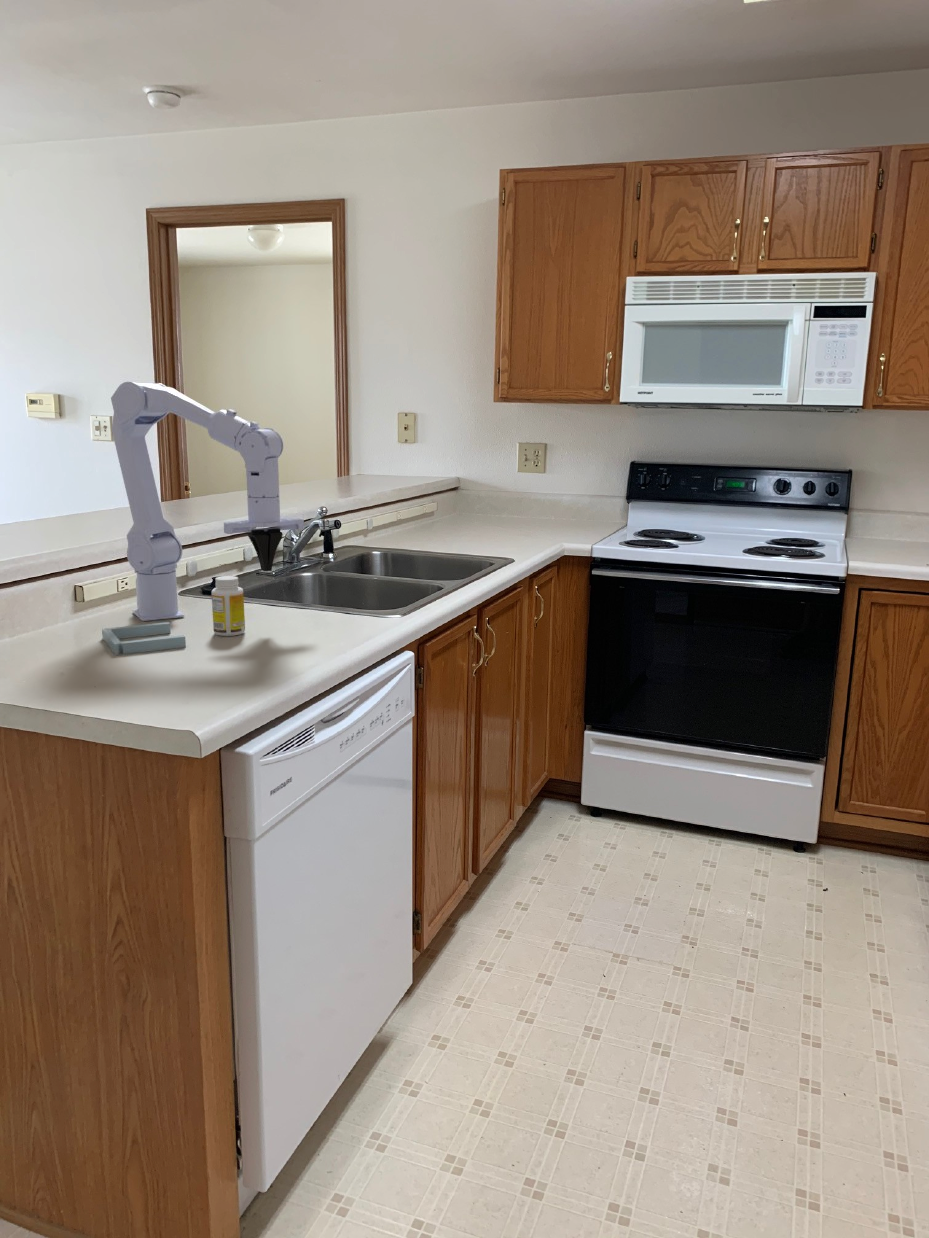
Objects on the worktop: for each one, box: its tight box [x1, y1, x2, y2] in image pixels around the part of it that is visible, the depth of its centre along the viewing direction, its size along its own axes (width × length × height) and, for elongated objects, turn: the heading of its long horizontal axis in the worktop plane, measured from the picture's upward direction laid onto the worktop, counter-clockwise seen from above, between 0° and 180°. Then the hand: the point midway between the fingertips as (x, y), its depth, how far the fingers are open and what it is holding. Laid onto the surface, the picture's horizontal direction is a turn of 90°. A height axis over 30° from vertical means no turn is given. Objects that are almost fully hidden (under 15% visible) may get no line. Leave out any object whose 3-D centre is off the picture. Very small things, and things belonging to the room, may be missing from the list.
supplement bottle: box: [211, 575, 246, 637], centre depth 164 cm, size 6×6×10 cm
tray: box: [101, 621, 187, 656], centre depth 158 cm, size 12×11×2 cm
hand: (266, 570), depth 169 cm, fingers closed
